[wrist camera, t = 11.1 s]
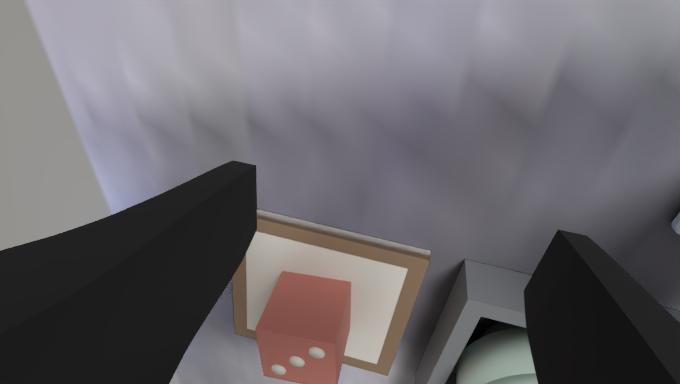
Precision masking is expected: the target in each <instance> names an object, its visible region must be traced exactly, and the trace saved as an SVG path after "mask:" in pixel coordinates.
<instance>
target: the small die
mask: <svg viewBox="0 0 680 384" xmlns="http://www.w3.org/2000/svg"><path fill="white" fill-rule="evenodd" d="M350 314H351V282H349V281H343V280H337V279H331V278H324V277H318V276H312V275H306V274H299V273H293V272H287V271H282V273H281V275H280V277H279V279H278V281H277V283H276V285H275V288H274V290H273V292H272V294H271V296H270V298H269V300H268V303H267V305H266V307H265V309H264V311H263V313H262V315H261V318H260V320H259V322H258V324H257V326H256V328H255V330H256V336H257V341H258V346H259V352H260V357H261V362H262V367H263V373H264V376H268V377H273V378H277V379H282V380H287V381H292V382H296V383H301V384H338V379H339V375H340V370H341V366H342V362H343V357H344V353H345V348H346V344H347V340H348V335H349V331H350Z"/></svg>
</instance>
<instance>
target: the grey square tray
mask: <svg viewBox="0 0 680 384" xmlns="http://www.w3.org/2000/svg"><path fill="white" fill-rule="evenodd" d="M531 277H532V275H528V274H524V273H520V272H516V271H512V270H508V269H503V268H499V267H495V266H491V265H487V264H483V263H478V262H474V261H470V260H466V259H465V260H464V262H463V265H462V267H461V269H460V272H459V274H458V276H457V278H456V281H455V283H454V285H453V288H452V290H451V292H450V294H449V297H448V299H447V301H446V304H445V306H444V308H443V310H442V313H441V315H440V317H439V320H438V322H437V324H436V326H435V329H434V331H433V333H432V336H431V338H430V340H429V342H428V345H427V347H426V349H425V352H424V354H423V356H422V358H421V361H420V363H419V365H418V368H417V370H416V372H415V384H456V375H452V374H451V372H452V370H453V368H454V366H455V364H456V362H457V360H458V359H459V357H460V355H461V353H462V351H463V349H464V347H465V345H466V344H467V342H468V340H469V338H470V336H471V334H472V332H473V331H474V329H475V327H476V325H477V323H478V321H479V319H480V317H485V318H489V319H493V320H497V321H500V322H497V323H495V324H494V325H492V326H491V327H489V328H488V329H487V330H486V331H485V332H484V334H483V335H482V337H484V336H486V335H489V334H491V333H495V332H498V331H502V330H506V329H511V328H520V327H524V328H526V319H525V305H524V289H525V287H526V286H527V284H528V282H529V280H530V279H531ZM663 308H665V307H663ZM665 309H666V310H667V311H668V312H669V313H670V314H671V315H672V316H673V317H674V318H675V319H676V320H677V321H679V322H680V311H678V310H674V309H670V308H665ZM482 337H481V338H482Z"/></svg>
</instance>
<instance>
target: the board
mask: <svg viewBox="0 0 680 384" xmlns="http://www.w3.org/2000/svg"><path fill="white" fill-rule="evenodd" d="M429 262H430V251H429V250H424V249H420V248H416V247H412V246H408V245H404V244H400V243H395V242H391V241H387V240H383V239H379V238H375V237H370V236H366V235H362V234H358V233H354V232H350V231H346V230H341V229H337V228H333V227H329V226H325V225H321V224H316V223H312V222H308V221H304V220H300V219H296V218H292V217H287V216H283V215H279V214H275V213H271V212H267V211H262V210H258V209H257V230H256V233H255V235H254V237H253V239H252V241H251V244H250V246H249V248H248V250H247V252H246V254H245V256H244V258H243V261H242V262H241V264H240V266H239V267H238V269H237V270H236V272H235V274H234V275H233V277H232V285H233V307H234V329H235V334H238V335H241V336H245V337H249V338H252V339H256V340H257V336H256V330H255V328H256V326H257V324H258V322H259V320H260V318H261V315H262V313H263V311H264V309H265V307H266V305H267V303H268V300H269V298H270V296H271V294H272V292H273V290H274V288H275V285H276V283H277V281H278V279H279V277H280V275H281V273H282V271H287V272H293V273H299V274H306V275H312V276H318V277H324V278H331V279H337V280H343V281H349V282H351V314H350V331H349V335H348V340H347V344H346V348H345V353H344V357H343V362H342V363H343V364H346V365H350V366H354V367H357V368H361V369H365V370H368V371H372V372H375V373H379V374H383V375H386V376H388V374H389V371H390V369H391V366H392V363H393V360H394V358H395V355H396V352H397V350H398V347H399V344H400V341H401V339H402V336H403V333H404V330H405V328H406V325H407V322H408V320H409V317H410V314H411V311H412V309H413V306H414V303H415V300H416V298H417V295H418V292H419V290H420V287H421V284H422V281H423V279H424V276H425V273H426V270H427V268H428V265H429Z"/></svg>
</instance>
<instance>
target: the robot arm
mask: <svg viewBox="0 0 680 384" xmlns="http://www.w3.org/2000/svg"><path fill="white" fill-rule="evenodd" d="M671 225H672V228H673V229H674V231H675V232H676V233H677V234H679V235H680V212H679V214H678V215H677V216H676V217H675V219H674V220H673V222H672V224H671ZM256 230H257V193H256V165H251V164H247V163H242V162H237V161H231V162H228V163H226V164H223V165H221V166H219V167H217V168H215V169H212V170H210V171H208V172H206V173H204V174H202V175H200V176H198V177H196V178H194V179H192V180H190V181H188V182H185V183H183V184H181V185H179V186H177V187H175V188H173V189H171V190H169V191H167V192H164V193H162V194H160V195H158V196H156V197H153V198H151V199H149V200H146V201H144V202H142V203H139V204H137V205H135V206H132V207H130V208H127V209H125V210H123V211H120V212H118V213H116V214H113V215H111V216H108V217H106V218H103V219H100V220H98V221H95V222H92V223H89V224H87V225H84V226H81V227H78V228H75V229H72V230H69V231H66V232H63V233H60V234H57V235H54V236H51V237H48V238H44V239H40V240H37V241H33V242H30V243H26V244H23V245H19V246H15V247H12V248H8V249H5V250H2V251H0V384H169V383H170V381H171V379H172V377H173V374H174V373H175V371H176V369H177V367H178V365H179V363H180V361H181V359H182V357H183V355H184V353H185V352H186V350H187V348H188V346H189V345H190V343H191V341H192V340H193V338H194V336H195V334H196V333H197V331H198V330H199V328H200V327H201V325H202V324H203V322H204V320H205V319H206V317H207V316H208V314H209V313H210V311H211V310H212V308H213V307H214V305H215V303H216V302H217V300H218V299H219V297H220V296H221V294H222V293H223V291H224V289H225V288H226V286H227V285H228V283H229V282H230V280H231V278H232V277H233V275H234V274H235V272H236V270H237V269H238V267H239V266H240V264H241V262H242V261H243V258H244V256H245V254H246V252H247V250H248V248H249V246H250V244H251V241H252V239H253V237H254V235H255V233H256ZM524 305H525V319H526V329H527V335H528V340H529V345H530V349H531V354H532V359H533V363H534V368H535V372H536V377H537V381H538V384H680V322H679V321H677V320H676V319H675V318H674V317H673V316H672V315H671V314H670V313H669V312H668V311H667V310H666V309H665V308H663V307H662V306H661V305H660V304H659V303H658V302H657V301H656V300H655V299H654V298H653V297H652V296H651V295H650V294H649V293H648V292H647V291H646V290H644V289H643V288H642V287H641V286H640V285H639V284H638V283H637V282H636V281H635V280H634V279H633V278H632V277H631V276H630V275H629V274H628V273H627V272H626V271H625V270H624V269H623V268H622V267H621V266H620V265H618V264H617V263H616V262H615V261H614V260H613V259H612V258H611V257H610V256H609V255H608V254H607V253H606V252H605V251H604V250H602V249H601V248H600V247H599V246H598V245H597V244H596V243H595V242H593V241H592V240H591V239H590V238H589V237H587V236H585V235H581V234H576V233H571V232H566V231H562V230H558V231H557V232H556V234H555V236H554V238H553V240H552V241H551V243H550V245H549V247H548V248H547V250H546V252H545V254H544V255H543V257H542V259H541V261H540V263H539V264H538V266H537V268H536V270H535V271H534V273H533V275H532V277H531V279H530V280H529V282H528V284H527V286H526V287H525V289H524Z"/></svg>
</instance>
